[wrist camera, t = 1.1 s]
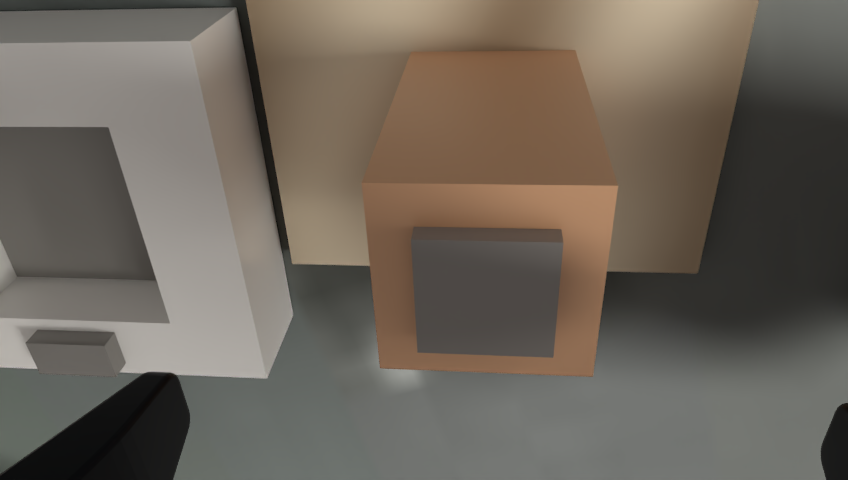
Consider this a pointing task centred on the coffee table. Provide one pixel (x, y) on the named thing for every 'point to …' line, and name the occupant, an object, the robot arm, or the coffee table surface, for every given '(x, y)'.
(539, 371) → the plug
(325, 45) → the tray slab
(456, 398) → the coffee table surface
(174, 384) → the robot arm
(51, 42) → the socket block
